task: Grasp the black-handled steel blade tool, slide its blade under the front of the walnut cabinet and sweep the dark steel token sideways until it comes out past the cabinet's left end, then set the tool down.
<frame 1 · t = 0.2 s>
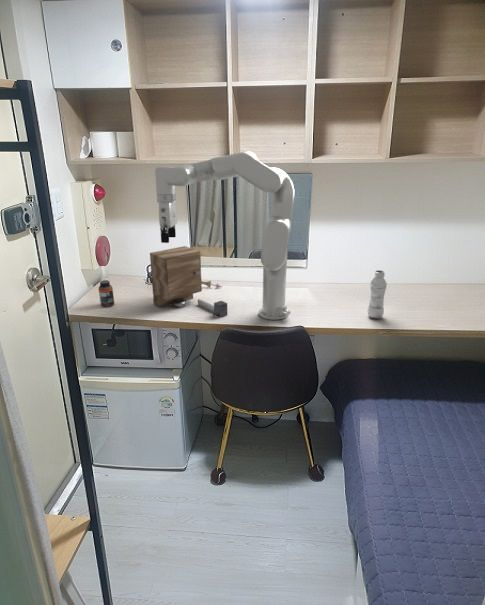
hand: (168, 239, 190), 31 cm above the table, tool pointing down, fingers open, 9 cm apart
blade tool: (220, 315, 194), on the table
cabinet: (178, 303, 207), on the table
plastic bottle: (374, 317, 192), on the table
supplement bottle: (107, 305, 205), on the table
decorative key: (203, 287, 228), on the table
token: (179, 306, 204), on the table
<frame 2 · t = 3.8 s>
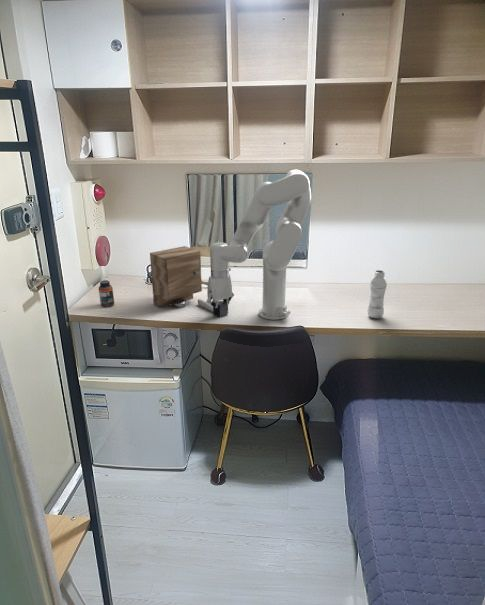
hand: (220, 313, 194), 1 cm above the table, tool pointing down, fingers closed on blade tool, 4 cm apart
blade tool: (220, 315, 194), on the table, touching gripper
everything else where it was.
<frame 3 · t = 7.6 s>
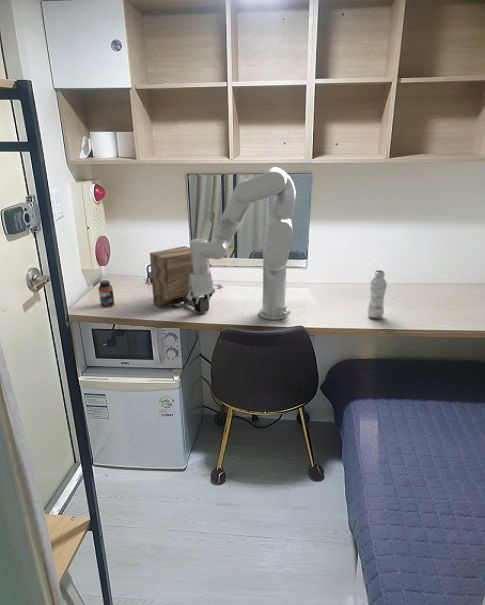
hand: (201, 309, 196), 2 cm above the table, tool pointing down, fingers closed on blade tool, 4 cm apart
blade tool: (201, 310, 196), point 1 cm above the table, touching gripper, token
token: (179, 306, 204), on the table, touching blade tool
everything else where it was.
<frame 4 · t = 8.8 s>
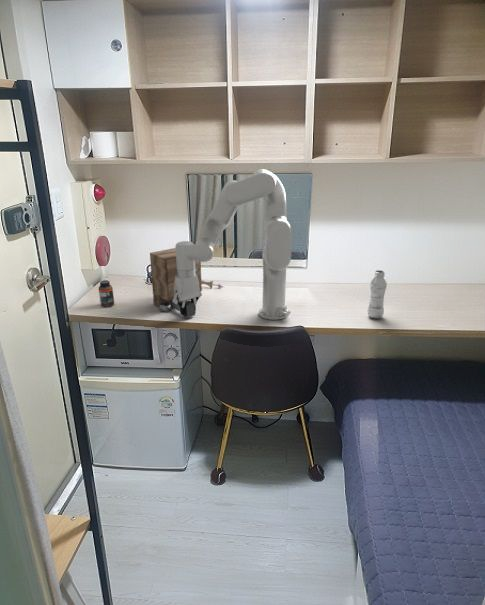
hand: (188, 313, 191), 2 cm above the table, tool pointing down, fingers closed on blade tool, 4 cm apart
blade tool: (188, 315, 192), point 1 cm above the table, touching gripper
token: (165, 310, 199), on the table
everything else where it was.
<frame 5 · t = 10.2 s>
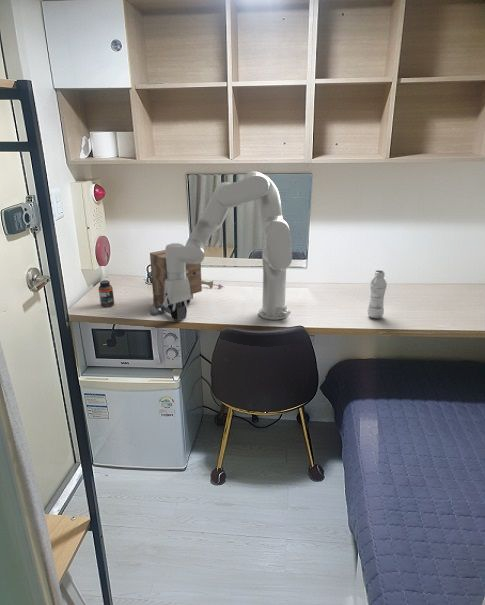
hand: (179, 316, 189), 2 cm above the table, tool pointing down, fingers closed on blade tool, 4 cm apart
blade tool: (179, 318, 189), point 1 cm above the table, touching gripper
token: (156, 313, 197), on the table
when the fingers open (1 cm above the table, at t = 11.7 s): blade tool stays where it is, on the table.
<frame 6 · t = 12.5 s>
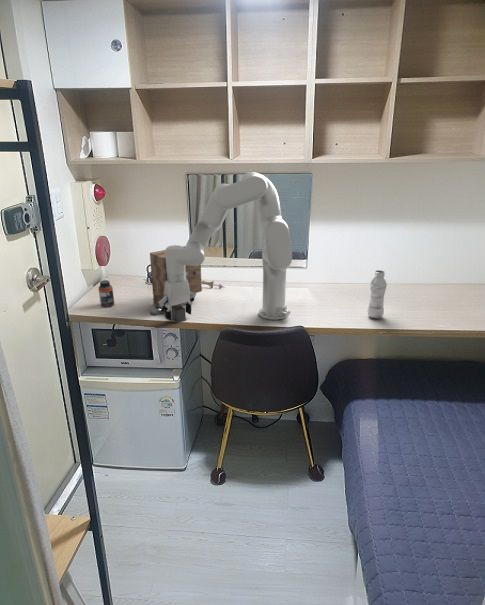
hand: (178, 316, 188), 2 cm above the table, tool pointing down, fingers open, 9 cm apart
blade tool: (179, 320, 189), on the table
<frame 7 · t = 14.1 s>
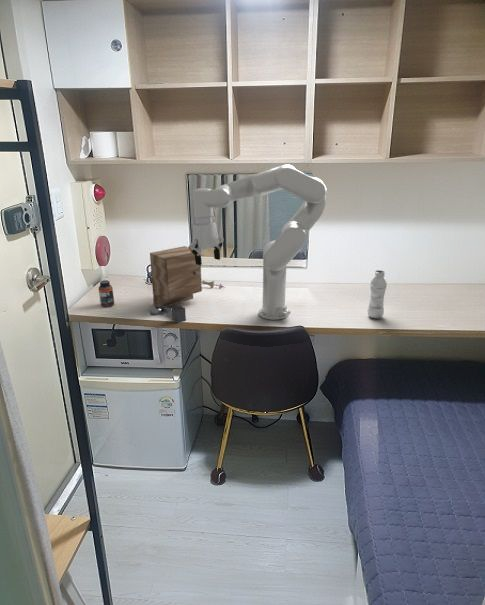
hand: (208, 261, 188), 23 cm above the table, tool pointing down, fingers open, 9 cm apart
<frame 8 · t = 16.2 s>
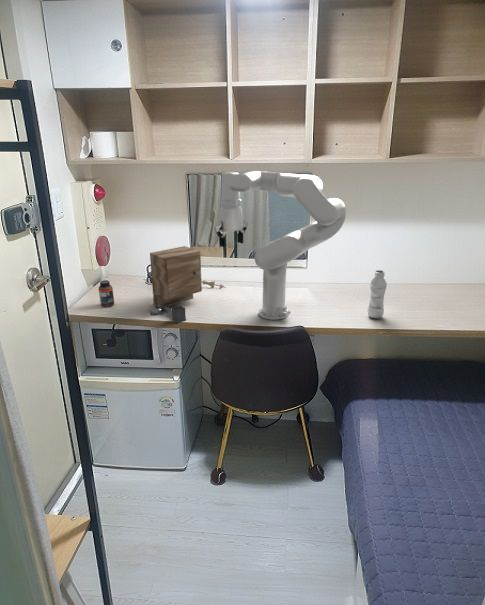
hand: (231, 244, 192), 28 cm above the table, tool pointing down, fingers open, 9 cm apart
at the end: token inside the target area (5.6 cm from its centre), on the table; the gripper is holding nothing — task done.
